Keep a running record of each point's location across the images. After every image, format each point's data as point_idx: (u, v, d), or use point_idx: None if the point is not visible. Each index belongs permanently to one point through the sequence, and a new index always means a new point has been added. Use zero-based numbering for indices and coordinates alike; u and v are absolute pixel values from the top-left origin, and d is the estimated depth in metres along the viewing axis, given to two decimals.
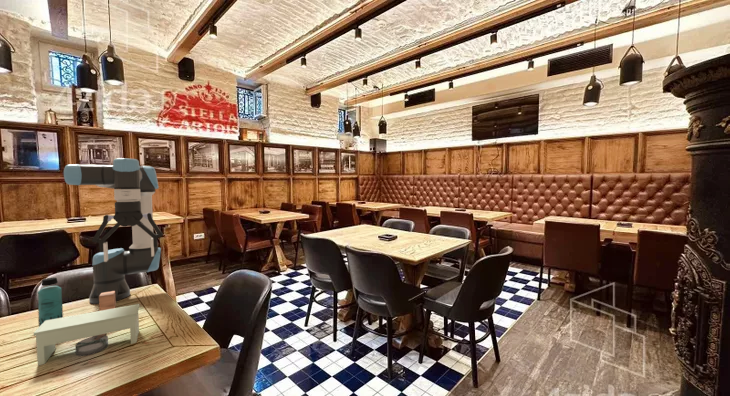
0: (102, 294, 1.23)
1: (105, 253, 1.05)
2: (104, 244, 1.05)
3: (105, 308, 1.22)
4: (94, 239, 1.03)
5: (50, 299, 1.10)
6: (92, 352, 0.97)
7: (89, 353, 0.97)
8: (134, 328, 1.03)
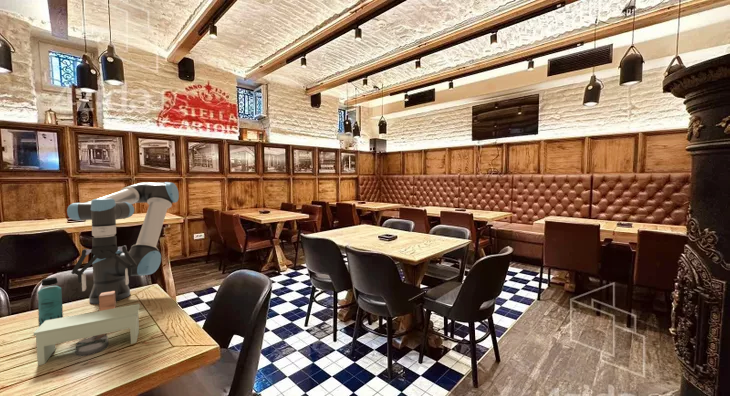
0: (102, 294, 1.23)
1: (83, 283, 1.19)
2: (82, 275, 1.18)
3: (105, 308, 1.22)
4: (73, 271, 1.17)
5: (50, 299, 1.10)
6: (92, 352, 0.97)
7: (89, 353, 0.97)
8: (134, 328, 1.03)
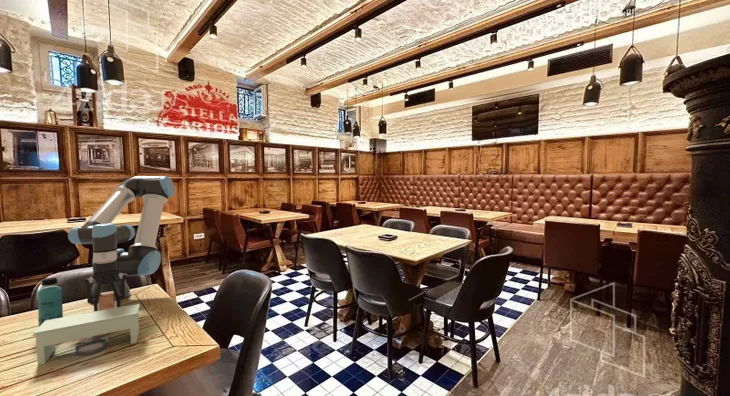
0: (102, 294, 1.23)
1: None
2: (98, 304, 1.21)
3: (105, 308, 1.22)
4: (89, 301, 1.20)
5: (50, 299, 1.10)
6: (92, 352, 0.97)
7: (89, 353, 0.97)
8: (134, 328, 1.03)
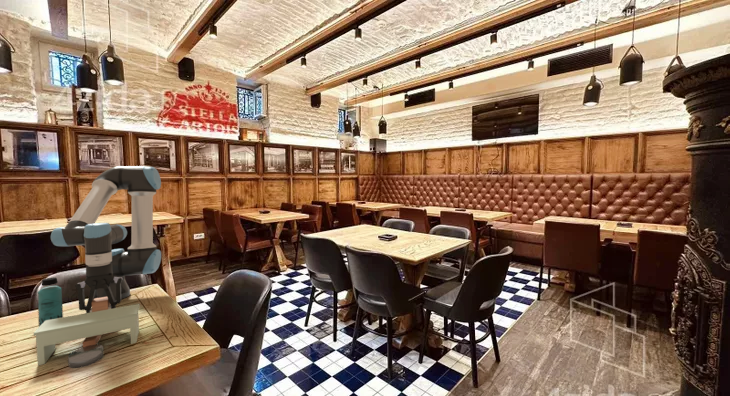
0: (95, 300, 1.12)
1: None
2: (91, 311, 1.11)
3: None
4: (80, 307, 1.10)
5: (50, 299, 1.10)
6: (85, 364, 0.91)
7: (82, 364, 0.90)
8: (134, 328, 1.03)
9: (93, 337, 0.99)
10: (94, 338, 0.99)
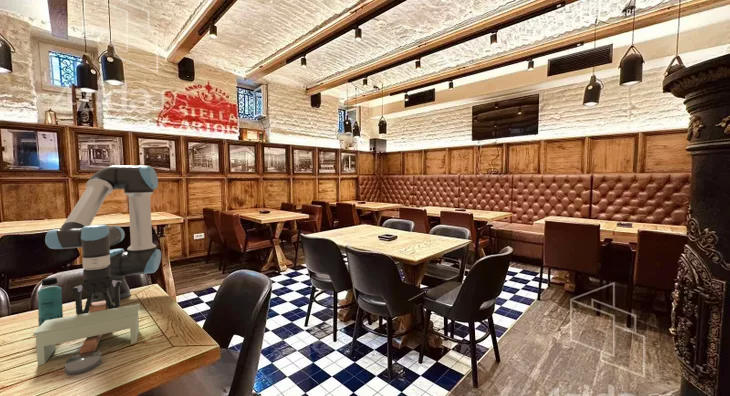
0: (93, 304, 1.09)
1: None
2: None
3: None
4: (78, 312, 1.06)
5: (50, 299, 1.10)
6: (83, 371, 0.87)
7: (80, 372, 0.87)
8: (134, 328, 1.03)
9: (91, 343, 0.96)
10: (92, 344, 0.95)
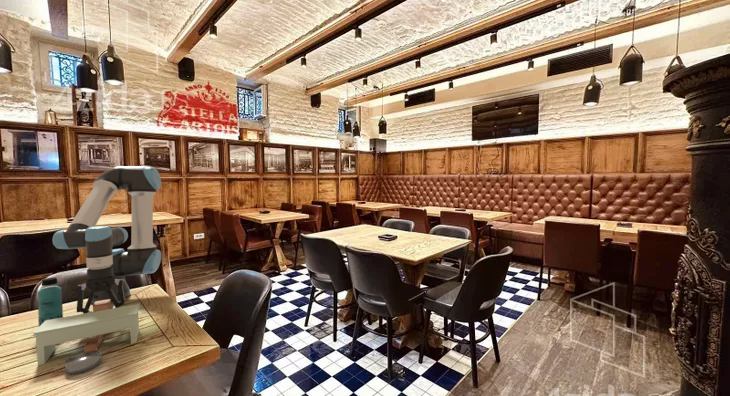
0: (96, 303, 1.14)
1: None
2: None
3: None
4: (78, 309, 1.10)
5: (50, 299, 1.10)
6: (82, 371, 0.87)
7: (80, 372, 0.87)
8: (134, 328, 1.03)
9: (95, 340, 1.01)
10: (96, 341, 1.00)
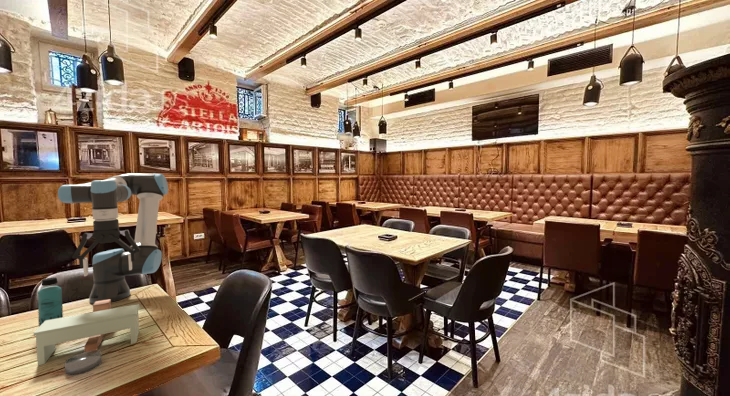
0: (96, 303, 1.14)
1: (85, 268, 1.14)
2: (84, 260, 1.13)
3: None
4: (74, 256, 1.12)
5: (50, 299, 1.10)
6: (82, 371, 0.87)
7: (79, 372, 0.87)
8: (134, 328, 1.03)
9: (95, 340, 1.01)
10: (96, 341, 1.00)
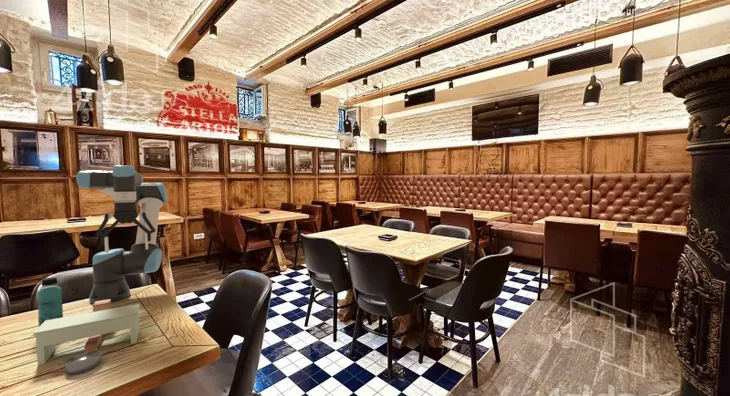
0: (96, 303, 1.14)
1: (106, 246, 1.24)
2: (105, 238, 1.23)
3: None
4: (97, 234, 1.22)
5: (50, 299, 1.10)
6: (81, 371, 0.87)
7: (78, 372, 0.87)
8: (134, 328, 1.03)
9: (95, 340, 1.01)
10: (96, 341, 1.00)
